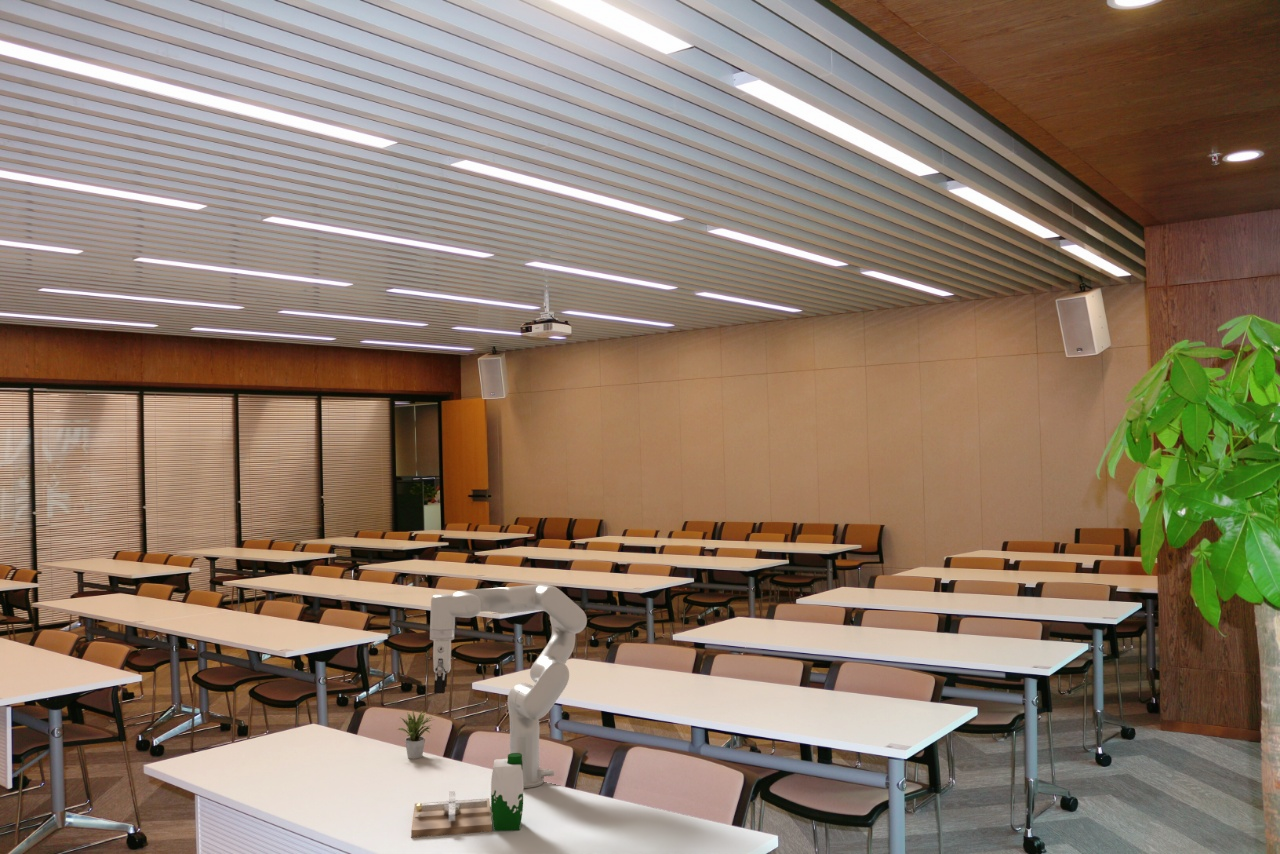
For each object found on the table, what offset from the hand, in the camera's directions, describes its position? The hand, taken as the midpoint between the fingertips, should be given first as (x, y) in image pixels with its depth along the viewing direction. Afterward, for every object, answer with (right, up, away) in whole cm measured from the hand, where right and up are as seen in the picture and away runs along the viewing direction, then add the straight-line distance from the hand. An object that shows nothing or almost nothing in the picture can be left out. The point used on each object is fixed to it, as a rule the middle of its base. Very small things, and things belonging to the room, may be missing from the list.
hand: (440, 689), depth 297 cm
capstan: (+8, -30, -21) cm, 38 cm away
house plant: (-17, -36, +41) cm, 57 cm away
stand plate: (+8, -32, -21) cm, 39 cm away
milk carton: (+24, -32, -26) cm, 48 cm away
